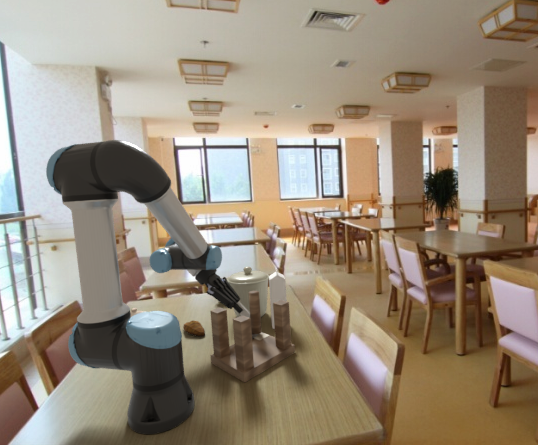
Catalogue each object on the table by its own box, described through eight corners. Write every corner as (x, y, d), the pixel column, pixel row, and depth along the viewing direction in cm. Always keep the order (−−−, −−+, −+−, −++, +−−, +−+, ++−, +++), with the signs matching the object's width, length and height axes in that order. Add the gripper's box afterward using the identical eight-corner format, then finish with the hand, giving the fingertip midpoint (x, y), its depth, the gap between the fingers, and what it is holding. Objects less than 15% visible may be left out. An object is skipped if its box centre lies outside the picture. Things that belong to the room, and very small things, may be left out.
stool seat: (244, 382, 86) (240, 323, 84) (211, 362, 97) (206, 310, 96) (295, 352, 100) (292, 301, 99) (260, 338, 112) (257, 293, 110)
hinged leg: (244, 345, 100) (240, 301, 99) (235, 343, 103) (232, 299, 101) (263, 332, 109) (261, 291, 108) (255, 330, 111) (252, 290, 110)
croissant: (177, 331, 123) (175, 319, 123) (192, 325, 128) (191, 313, 127) (195, 341, 113) (194, 327, 113) (211, 334, 118) (210, 321, 118)
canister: (221, 316, 135) (217, 268, 133) (253, 304, 147) (250, 260, 145) (247, 327, 122) (243, 274, 120) (280, 314, 134) (277, 265, 132)
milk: (286, 321, 125) (283, 267, 124) (288, 327, 119) (285, 270, 118) (271, 322, 125) (268, 268, 123) (272, 329, 119) (269, 271, 117)
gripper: (203, 272, 120) (247, 316, 118) (187, 282, 107) (236, 332, 105) (215, 258, 118) (260, 303, 116) (200, 267, 105) (250, 318, 103)
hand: (249, 317), depth 110 cm, fingers closed
